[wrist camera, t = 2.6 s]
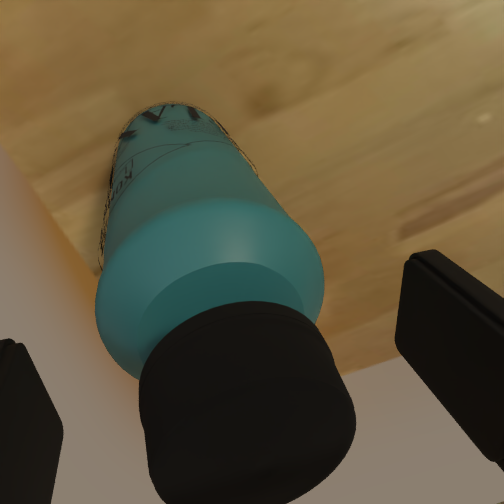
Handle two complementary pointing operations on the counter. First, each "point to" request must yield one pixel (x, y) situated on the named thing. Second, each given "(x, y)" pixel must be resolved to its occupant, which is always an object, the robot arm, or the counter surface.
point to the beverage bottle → (217, 319)
